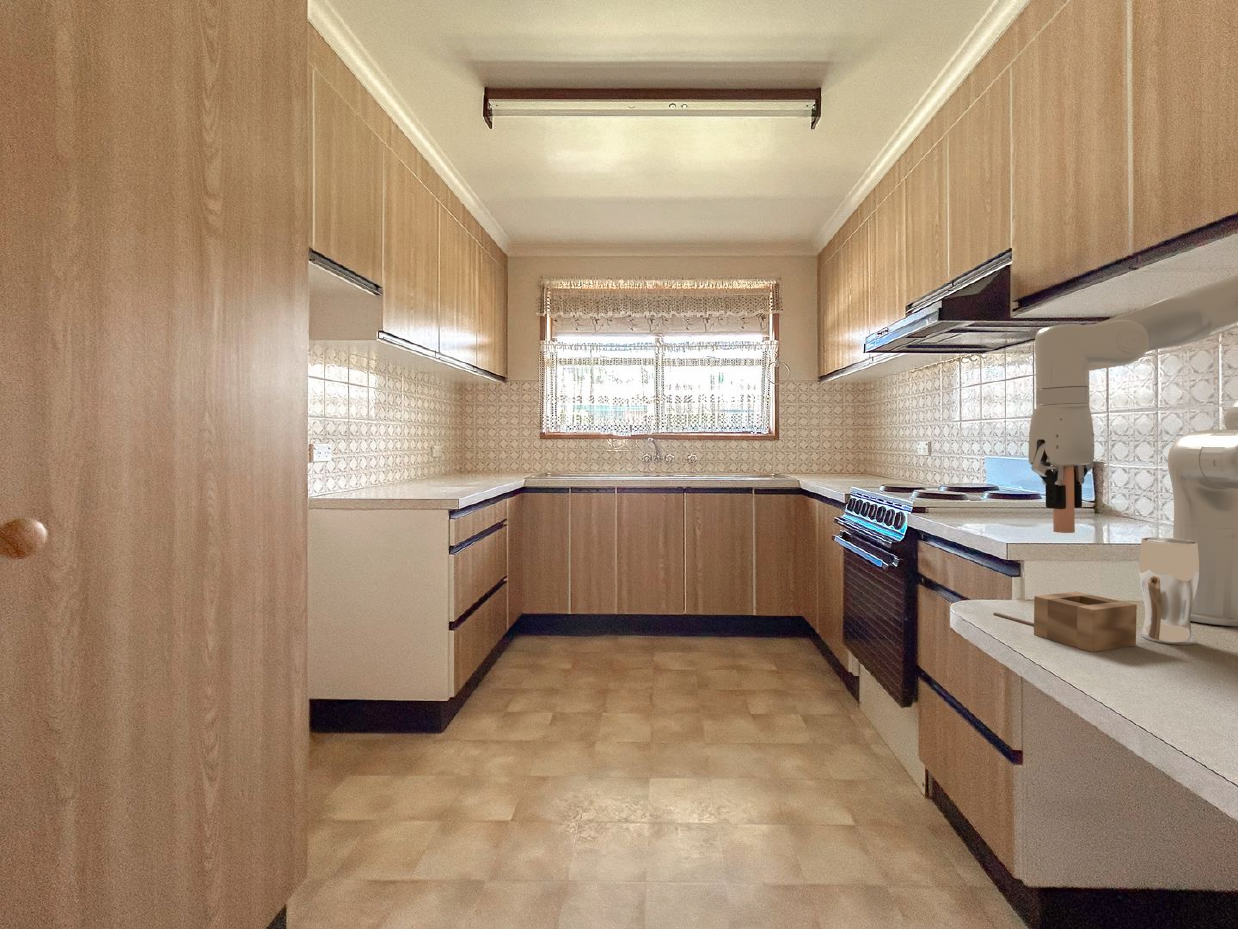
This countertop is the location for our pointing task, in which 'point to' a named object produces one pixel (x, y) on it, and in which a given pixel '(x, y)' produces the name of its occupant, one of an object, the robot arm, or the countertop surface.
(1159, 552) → the beer glass
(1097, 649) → the wooden block with hole
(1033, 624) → the brown thin square rod
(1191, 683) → the countertop surface
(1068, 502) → the dowel
